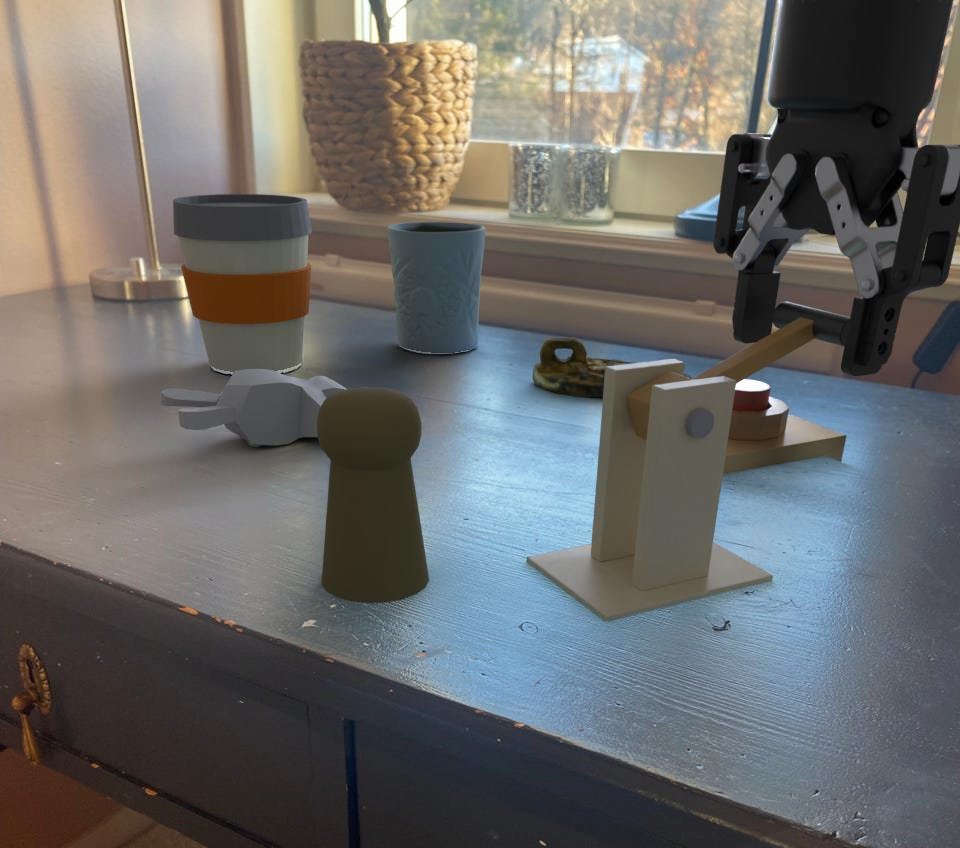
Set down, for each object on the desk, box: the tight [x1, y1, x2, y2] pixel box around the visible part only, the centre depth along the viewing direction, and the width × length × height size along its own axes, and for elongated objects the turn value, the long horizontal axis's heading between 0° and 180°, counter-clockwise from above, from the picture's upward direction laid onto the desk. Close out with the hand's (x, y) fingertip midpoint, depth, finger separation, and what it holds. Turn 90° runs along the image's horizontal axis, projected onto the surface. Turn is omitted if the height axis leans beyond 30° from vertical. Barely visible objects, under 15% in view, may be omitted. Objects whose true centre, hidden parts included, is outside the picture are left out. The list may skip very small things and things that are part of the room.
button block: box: [723, 396, 847, 475], centre depth 73 cm, size 12×10×4 cm
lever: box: [627, 300, 850, 440], centre depth 50 cm, size 12×5×2 cm, turn 118°
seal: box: [532, 336, 693, 398], centre depth 90 cm, size 9×5×15 cm
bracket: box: [525, 358, 774, 623], centre depth 51 cm, size 11×8×12 cm
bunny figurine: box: [160, 369, 348, 448], centre depth 75 cm, size 10×5×15 cm
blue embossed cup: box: [387, 221, 487, 353], centre depth 102 cm, size 10×10×12 cm
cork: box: [317, 386, 430, 604], centre depth 50 cm, size 6×6×11 cm
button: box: [732, 378, 772, 412], centre depth 72 cm, size 4×4×2 cm
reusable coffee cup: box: [172, 193, 313, 372], centre depth 93 cm, size 13×12×15 cm
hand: (801, 356), depth 52 cm, fingers open, 7 cm apart
